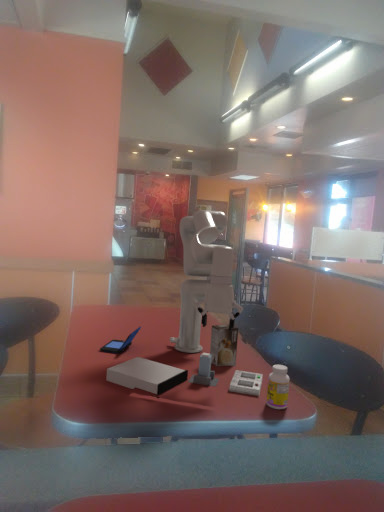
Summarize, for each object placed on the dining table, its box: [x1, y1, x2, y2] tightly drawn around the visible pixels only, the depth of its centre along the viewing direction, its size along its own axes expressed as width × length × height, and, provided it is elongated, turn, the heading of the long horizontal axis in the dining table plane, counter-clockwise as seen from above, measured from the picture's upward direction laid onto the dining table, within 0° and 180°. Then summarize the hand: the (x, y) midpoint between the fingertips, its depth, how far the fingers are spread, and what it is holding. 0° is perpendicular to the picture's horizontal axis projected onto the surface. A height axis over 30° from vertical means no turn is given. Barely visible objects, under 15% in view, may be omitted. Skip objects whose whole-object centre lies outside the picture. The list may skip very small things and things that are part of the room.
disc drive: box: [106, 356, 189, 399], centre depth 147 cm, size 18×22×5 cm
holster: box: [187, 368, 220, 387], centre depth 149 cm, size 10×8×4 cm
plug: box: [197, 352, 212, 377], centre depth 149 cm, size 4×4×10 cm
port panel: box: [228, 369, 264, 400], centre depth 148 cm, size 10×16×3 cm, turn 166°
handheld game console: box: [99, 326, 142, 355], centre depth 182 cm, size 16×13×9 cm
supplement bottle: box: [265, 364, 291, 410], centre depth 134 cm, size 7×7×13 cm
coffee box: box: [209, 324, 239, 367], centre depth 169 cm, size 9×6×16 cm
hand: (217, 327), depth 150 cm, fingers open, 9 cm apart
